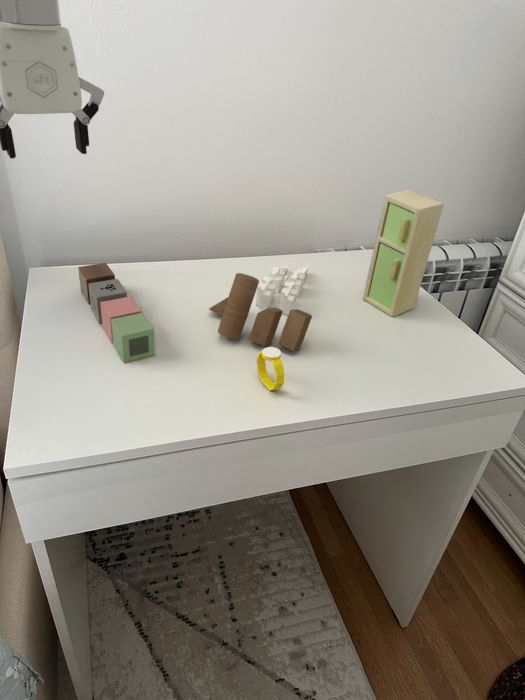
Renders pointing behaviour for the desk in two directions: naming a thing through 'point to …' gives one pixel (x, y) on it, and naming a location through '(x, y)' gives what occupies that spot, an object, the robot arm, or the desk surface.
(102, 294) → the dice cube
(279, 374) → the watch
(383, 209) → the toy refrigerator
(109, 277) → the brown cube
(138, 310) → the plain pink block
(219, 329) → the wooden block set
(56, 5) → the robot arm
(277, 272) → the modular blocks
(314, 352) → the desk surface
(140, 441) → the desk surface
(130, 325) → the green cube
